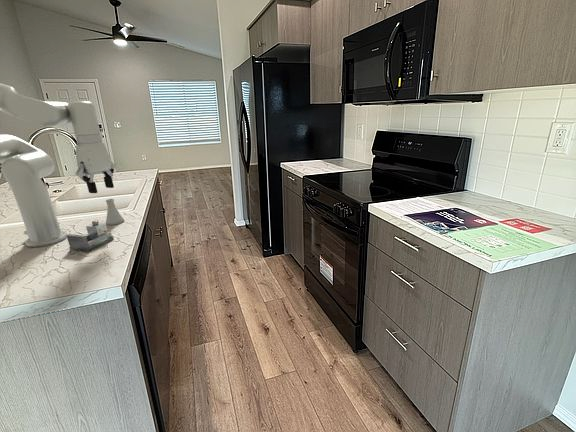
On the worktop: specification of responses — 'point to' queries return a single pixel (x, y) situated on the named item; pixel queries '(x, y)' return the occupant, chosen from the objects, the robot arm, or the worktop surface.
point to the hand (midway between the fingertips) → (101, 189)
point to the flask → (113, 213)
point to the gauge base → (87, 242)
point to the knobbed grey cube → (96, 229)
